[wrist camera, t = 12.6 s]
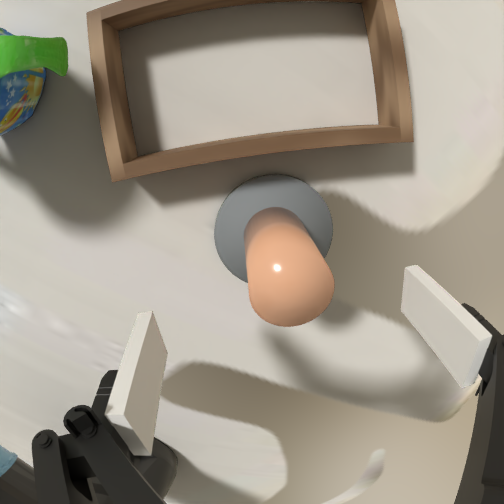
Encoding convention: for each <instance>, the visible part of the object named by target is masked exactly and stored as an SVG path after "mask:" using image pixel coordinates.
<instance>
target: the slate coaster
mask: <svg viewBox="0 0 504 504" xmlns="http://www.w3.org/2000/svg"><path fill="white" fill-rule="evenodd" d="M270 207H281V208H285V209H288V210H290V211H292V212H293V213H295V214H296V215H297V216H298V217H299V219H300V220H301V222H302V223H303V225H304V227H305V228H306V230H307V232H308V233H309V235H310V237H311V238H312V240H313V241H314V243H315V245H316V246H317V248H318V250H319V252H320V253H321V255H322V257H323V258H325V256H326V255H327V252H328V250H329V248H330V245H331V241H332V235H333V224H332V218H331V214H330V211H329V209H328V206H327V205H326V203H325V201H324V200H323V198H322V197H321V196H320V195H319V193H318V192H317V191H315V190H314V189H313V188H312V187H311V186H310V185H308V184H307V183H305V182H303V181H301V180H299V179H297V178H294V177H291V176H287V175H279V174H271V175H263V176H259V177H256V178H253V179H250V180H248V181H246V182H244V183H243V184H241V185H240V186H238V187H237V188H236V189H235V190H233V191H232V192H231V193H230V194H229V196H228V197H227V198H226V199H225V201H224V202H223V204H222V205H221V207H220V210H219V212H218V215H217V218H216V223H215V230H214V238H215V245H216V249H217V252H218V254H219V257H220V259H221V260H222V262H223V264H224V265H225V266H226V267H227V269H228V270H229V271H230V272H231V273H232V274H234V275H235V276H236V277H238V278H239V279H241V280H243V281H245V282H247V283H248V277H247V267H246V257H245V247H244V230H245V227H246V225H247V223H248V221H249V220H250V219H251V217H252V216H253V215H255V214H256V213H257V212H259V211H261V210H263V209H266V208H270Z"/></svg>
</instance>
